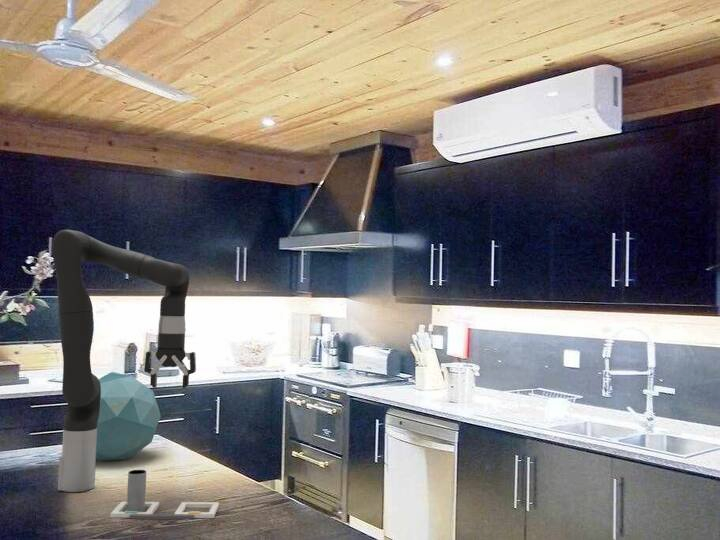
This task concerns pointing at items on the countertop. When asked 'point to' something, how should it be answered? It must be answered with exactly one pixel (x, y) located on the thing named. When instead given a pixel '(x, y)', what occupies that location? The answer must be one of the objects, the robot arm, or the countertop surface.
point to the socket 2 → (198, 514)
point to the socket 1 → (119, 514)
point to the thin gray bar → (161, 517)
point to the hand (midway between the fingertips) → (169, 387)
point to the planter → (136, 490)
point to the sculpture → (125, 417)
